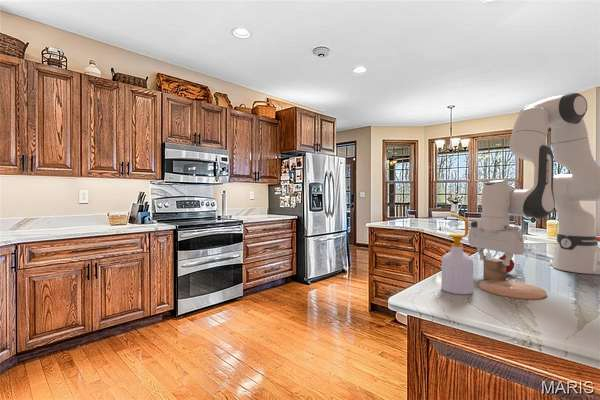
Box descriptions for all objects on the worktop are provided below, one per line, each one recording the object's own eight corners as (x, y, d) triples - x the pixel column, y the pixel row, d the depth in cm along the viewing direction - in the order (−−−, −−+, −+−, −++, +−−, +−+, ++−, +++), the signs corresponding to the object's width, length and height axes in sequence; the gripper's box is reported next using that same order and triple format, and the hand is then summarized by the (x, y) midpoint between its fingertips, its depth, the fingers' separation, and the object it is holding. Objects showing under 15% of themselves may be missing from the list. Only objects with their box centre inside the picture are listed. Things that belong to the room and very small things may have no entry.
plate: (506, 280, 113) (506, 277, 113) (561, 295, 96) (561, 292, 96) (466, 284, 108) (466, 282, 108) (517, 302, 91) (517, 298, 91)
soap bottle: (444, 284, 108) (444, 212, 108) (474, 289, 103) (475, 213, 102) (438, 291, 101) (439, 214, 100) (470, 297, 95) (471, 215, 95)
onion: (517, 275, 120) (518, 254, 119) (502, 275, 120) (502, 254, 120) (507, 272, 125) (508, 251, 125) (493, 272, 126) (493, 251, 125)
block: (493, 276, 119) (493, 258, 119) (506, 280, 114) (506, 260, 114) (483, 277, 117) (483, 258, 117) (495, 281, 113) (495, 261, 112)
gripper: (529, 227, 106) (528, 268, 107) (478, 222, 126) (477, 256, 126) (515, 227, 104) (514, 269, 105) (465, 222, 124) (464, 257, 124)
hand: (493, 262), depth 115 cm, fingers open, 8 cm apart
